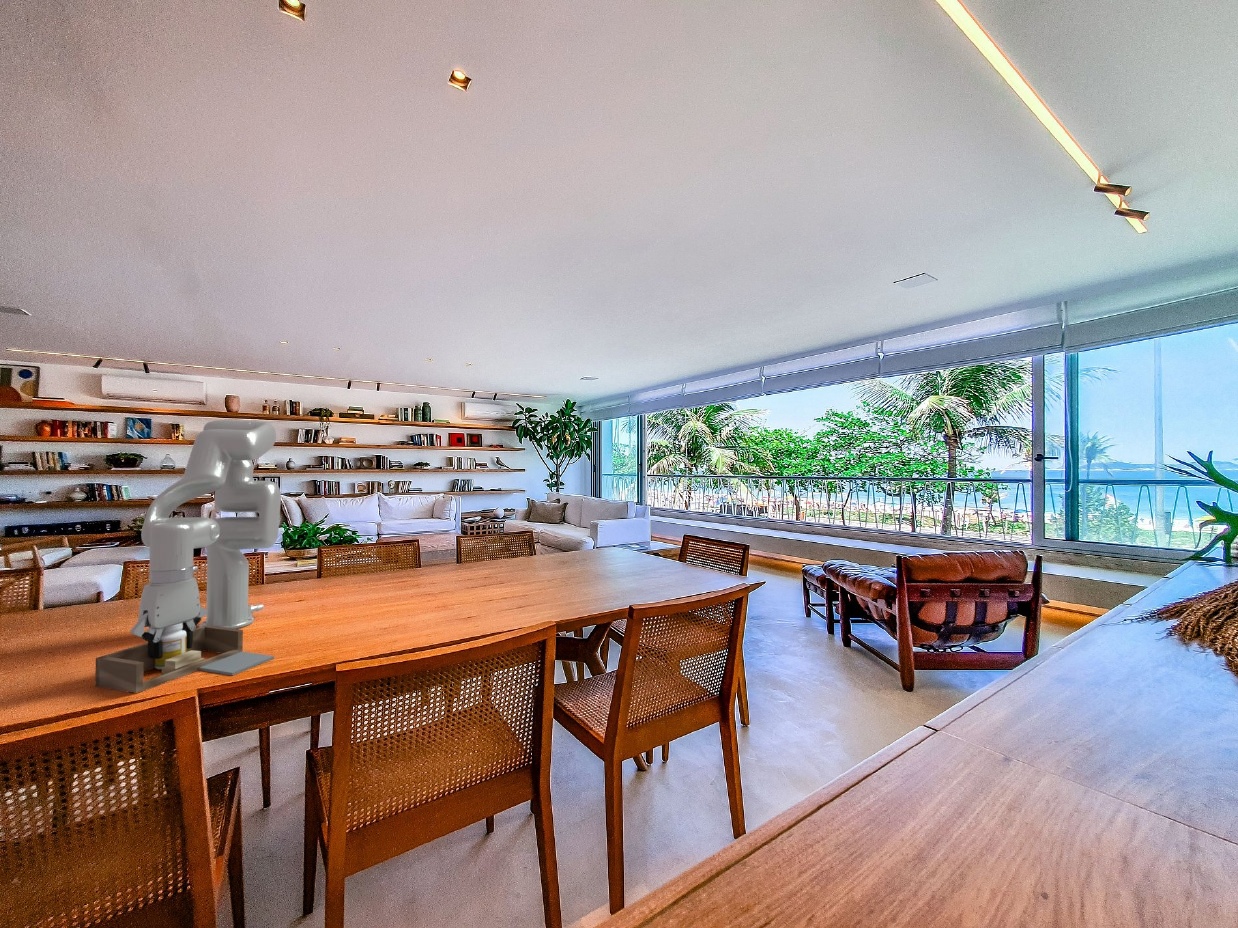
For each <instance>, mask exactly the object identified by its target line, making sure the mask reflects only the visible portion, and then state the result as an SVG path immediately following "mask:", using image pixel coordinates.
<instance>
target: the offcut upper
mask: <svg viewBox="0 0 1238 928" xmlns="http://www.w3.org/2000/svg"><path fill="white" fill-rule="evenodd" d="M201 658H202V652H201V651H193V650H191V651H188V652H185V653H183V654H180V655H178V656H175V657H172V658H170V659H167V660H165V668H166V669H177V668H180V667H182V666H184V665H187V664H189V663H192V662H194V661H197V660H199V659H201Z"/></svg>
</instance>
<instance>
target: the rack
mask: <svg viewBox="0 0 1238 928" xmlns="http://www.w3.org/2000/svg"><path fill="white" fill-rule="evenodd" d="M243 634H244V630H243V629H240V628H236V629H232V628H224V627H216V626H209V625H206V626H202V627H199V626H198V627H196V629H195V630H194V631H193V642H192V648H190V649H187V648H186V652H188V651H191V650H193V651H201V653H202V652H210V653H217V654H218V655H215V656H212V657H208V658H207V659H205V660H203V661H200V662H198V663H195V664H192V665H189V666H187V667H184V668H181V669H178V670H175V671H173V672H170V673H167V674H164V675H162V674H161V675H159V676H157V677H153V678H151V679H147V680H144V672H147V671H149V670H153V669H156V668H155V659H154V658H150V657H149V655H148V642H145V643H142V644H139V645H135V646H132V647H128V648H126V649H125V648H124V649H121V650H117V651H115V652H112V653H109V654H105V655H100V656H98V657H95V668H94V669H95V672H94V673H95V674H94V675H95V678H94V679H95V680H94V686H95V687H99V688H102V689H103V688H104V689H109V690H113V689H114V691H118V690H119V691H118V692H124V691H128V692H127V693H129V692H134V693H133V694H135V693H137V692H139V693H142V692H145V691H147V690H149V688H150V689H152V688H151V687H153V688H155V687H158V686H161V685H162V684H161V683H163V684H165V682H166V683H168V682H167V681H169V682H171V681H173V680H172V679H174V680H176V678H177V679H179V678H182V677H185V676H187V675H190V674H193V673H195V672H197V671H200V670H199V667H202V666H205V665H207V664H210V663H213V662H215V661H218V660H221V659H224V658H226V657H229V656H232V655H234V654H237V653H240V652H244V651H243V647H244V645H243V641H244V640H243V639H244V635H243ZM152 668H153V669H152ZM146 670H147V671H146ZM192 672H193V673H192ZM178 677H179V678H178ZM170 680H171V681H170ZM160 684H161V685H160ZM157 685H158V686H157ZM146 689H147V690H146ZM141 691H142V692H141ZM137 694H138V693H137Z"/></svg>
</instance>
